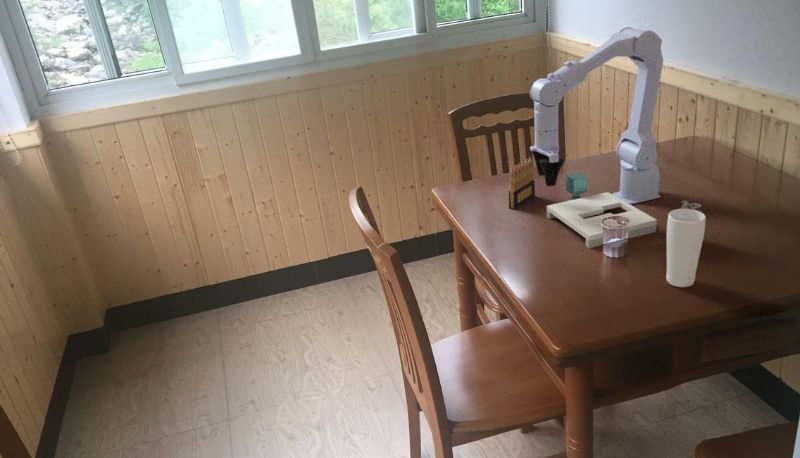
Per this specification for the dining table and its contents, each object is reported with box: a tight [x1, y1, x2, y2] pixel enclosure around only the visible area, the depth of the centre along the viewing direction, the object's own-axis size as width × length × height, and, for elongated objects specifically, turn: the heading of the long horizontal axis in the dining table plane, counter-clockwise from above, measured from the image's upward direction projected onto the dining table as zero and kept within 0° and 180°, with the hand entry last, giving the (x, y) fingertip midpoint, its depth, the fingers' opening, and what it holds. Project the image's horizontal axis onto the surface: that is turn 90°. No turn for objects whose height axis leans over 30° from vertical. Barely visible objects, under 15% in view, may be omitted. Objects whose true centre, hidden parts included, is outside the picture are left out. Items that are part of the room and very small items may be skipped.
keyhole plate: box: [546, 191, 658, 249], centre depth 153 cm, size 18×20×3 cm
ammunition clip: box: [508, 156, 536, 210], centre depth 168 cm, size 11×2×12 cm, turn 138°
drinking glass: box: [665, 208, 707, 288], centre depth 123 cm, size 7×7×15 cm
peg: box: [565, 171, 588, 201], centre depth 165 cm, size 4×4×8 cm
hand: (546, 180), depth 157 cm, fingers open, 7 cm apart
